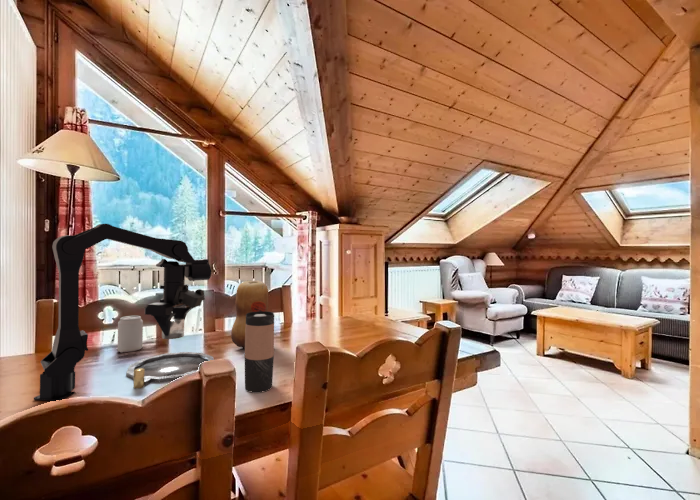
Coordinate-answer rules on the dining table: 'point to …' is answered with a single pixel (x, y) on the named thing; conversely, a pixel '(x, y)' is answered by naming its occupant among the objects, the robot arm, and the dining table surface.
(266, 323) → the travel mug
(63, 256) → the robot arm
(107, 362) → the dining table surface
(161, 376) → the curvy grey metal tray
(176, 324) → the cover
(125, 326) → the can
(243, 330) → the butternut squash
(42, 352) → the dining table surface
